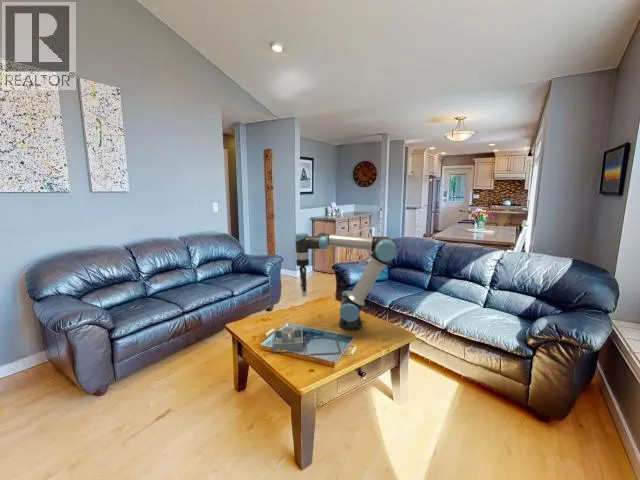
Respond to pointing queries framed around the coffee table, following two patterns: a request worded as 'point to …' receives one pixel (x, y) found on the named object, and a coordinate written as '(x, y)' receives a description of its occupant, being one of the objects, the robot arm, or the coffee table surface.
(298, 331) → the bin
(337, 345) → the square tray frame
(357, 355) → the coffee table surface
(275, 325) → the coffee table surface
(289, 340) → the cup
